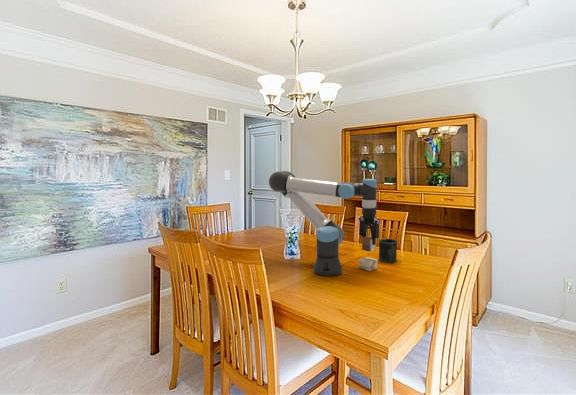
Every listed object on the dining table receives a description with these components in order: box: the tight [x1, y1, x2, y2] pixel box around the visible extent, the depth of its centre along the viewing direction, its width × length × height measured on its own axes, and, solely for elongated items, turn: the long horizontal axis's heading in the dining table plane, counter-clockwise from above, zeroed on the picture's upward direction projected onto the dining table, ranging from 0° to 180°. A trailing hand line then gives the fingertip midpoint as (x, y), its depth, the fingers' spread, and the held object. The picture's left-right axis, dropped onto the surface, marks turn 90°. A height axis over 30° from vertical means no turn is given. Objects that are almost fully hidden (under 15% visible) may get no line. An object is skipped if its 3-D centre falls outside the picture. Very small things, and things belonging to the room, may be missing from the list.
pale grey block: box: [358, 256, 379, 271], centre depth 178 cm, size 7×7×5 cm
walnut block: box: [361, 235, 376, 252], centre depth 177 cm, size 5×5×7 cm
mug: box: [378, 238, 398, 263], centre depth 193 cm, size 11×15×12 cm
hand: (368, 249), depth 177 cm, fingers closed on walnut block, 5 cm apart
